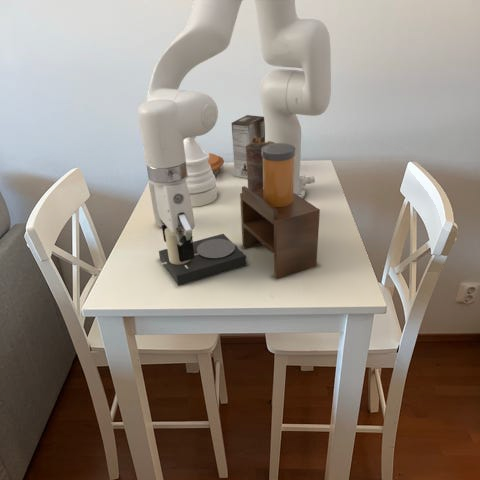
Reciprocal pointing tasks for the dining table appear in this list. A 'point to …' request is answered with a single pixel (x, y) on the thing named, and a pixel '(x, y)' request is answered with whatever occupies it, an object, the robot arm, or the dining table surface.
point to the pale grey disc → (216, 248)
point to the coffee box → (246, 140)
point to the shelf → (281, 230)
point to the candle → (255, 164)
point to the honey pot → (199, 174)
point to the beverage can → (155, 205)
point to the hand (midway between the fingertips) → (179, 249)
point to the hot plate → (202, 264)
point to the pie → (215, 163)
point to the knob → (173, 246)
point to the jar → (278, 174)
